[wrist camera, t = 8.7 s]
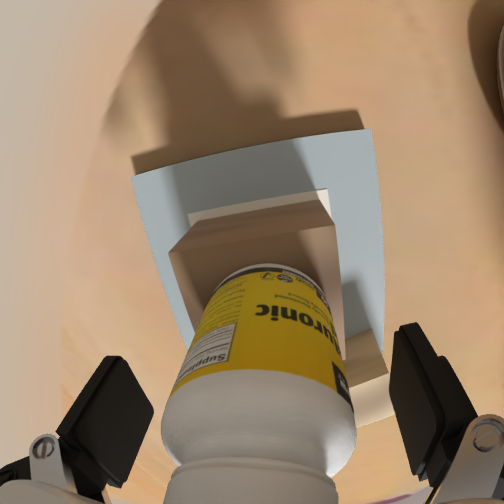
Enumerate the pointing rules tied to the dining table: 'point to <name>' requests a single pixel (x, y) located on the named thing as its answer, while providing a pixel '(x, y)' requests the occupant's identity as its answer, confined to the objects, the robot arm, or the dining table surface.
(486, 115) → the dining table surface
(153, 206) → the board
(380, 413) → the oak cube
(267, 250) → the walnut block
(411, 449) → the robot arm
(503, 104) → the saucer
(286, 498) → the supplement bottle
